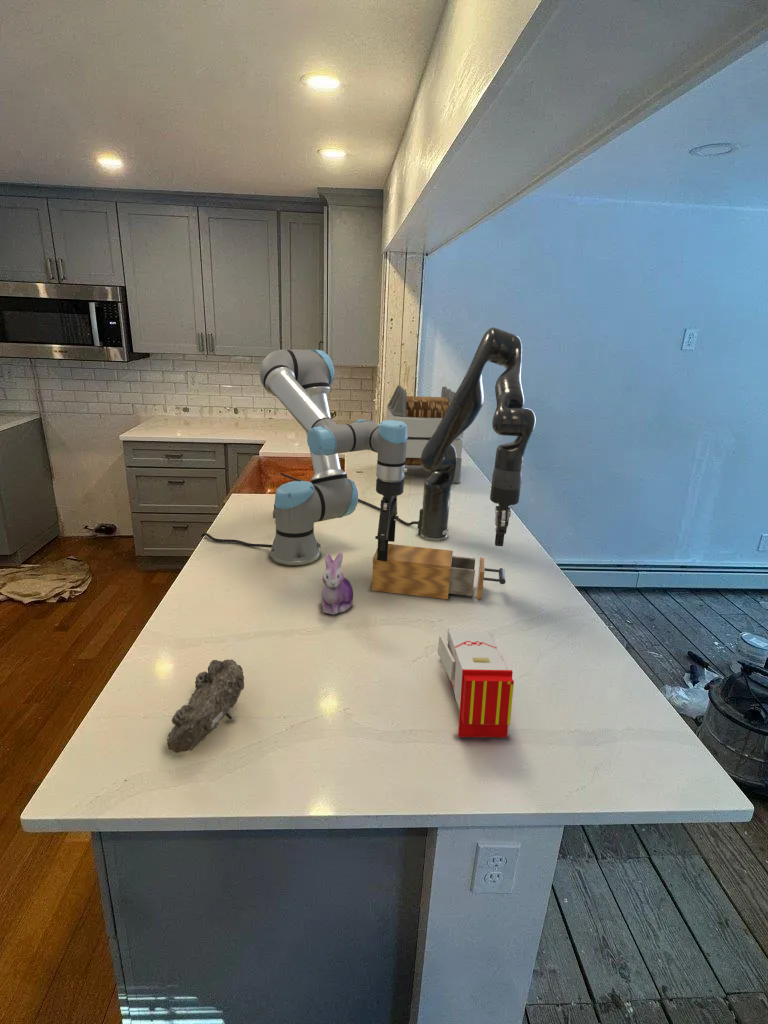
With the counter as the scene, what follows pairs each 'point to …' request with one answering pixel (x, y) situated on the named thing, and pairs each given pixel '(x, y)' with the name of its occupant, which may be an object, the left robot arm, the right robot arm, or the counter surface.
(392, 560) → the cabinet
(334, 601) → the figurine
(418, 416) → the transformer
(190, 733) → the fossil
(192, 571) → the counter surface
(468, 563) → the drawer
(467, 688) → the toy
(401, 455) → the left robot arm
